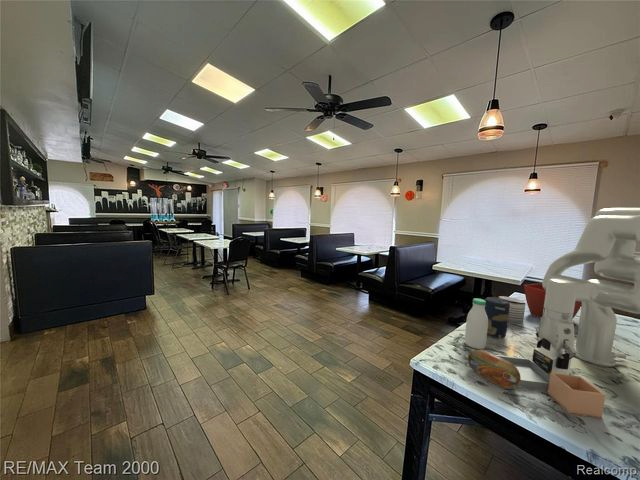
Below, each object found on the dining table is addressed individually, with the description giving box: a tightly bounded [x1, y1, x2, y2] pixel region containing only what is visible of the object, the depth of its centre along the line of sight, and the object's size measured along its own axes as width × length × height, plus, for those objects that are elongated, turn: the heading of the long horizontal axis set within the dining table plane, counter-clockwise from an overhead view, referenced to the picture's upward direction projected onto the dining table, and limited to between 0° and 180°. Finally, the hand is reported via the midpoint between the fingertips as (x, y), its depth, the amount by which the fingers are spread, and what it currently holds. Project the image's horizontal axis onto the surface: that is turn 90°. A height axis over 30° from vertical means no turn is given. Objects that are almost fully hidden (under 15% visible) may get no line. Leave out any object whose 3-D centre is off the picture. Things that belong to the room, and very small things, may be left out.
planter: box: [547, 373, 606, 419], centre depth 72 cm, size 8×8×7 cm
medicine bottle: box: [531, 338, 572, 376], centre depth 88 cm, size 7×7×12 cm
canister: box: [484, 296, 510, 339], centre depth 114 cm, size 10×10×18 cm
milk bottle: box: [464, 297, 488, 350], centre depth 104 cm, size 8×8×20 cm
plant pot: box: [523, 282, 582, 319], centre depth 136 cm, size 19×19×17 cm
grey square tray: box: [494, 354, 550, 392], centre depth 86 cm, size 14×14×2 cm
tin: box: [467, 349, 521, 390], centre depth 83 cm, size 15×3×8 cm, turn 32°
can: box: [498, 295, 527, 325], centre depth 132 cm, size 11×11×12 cm
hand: (550, 360), depth 88 cm, fingers open, 9 cm apart
